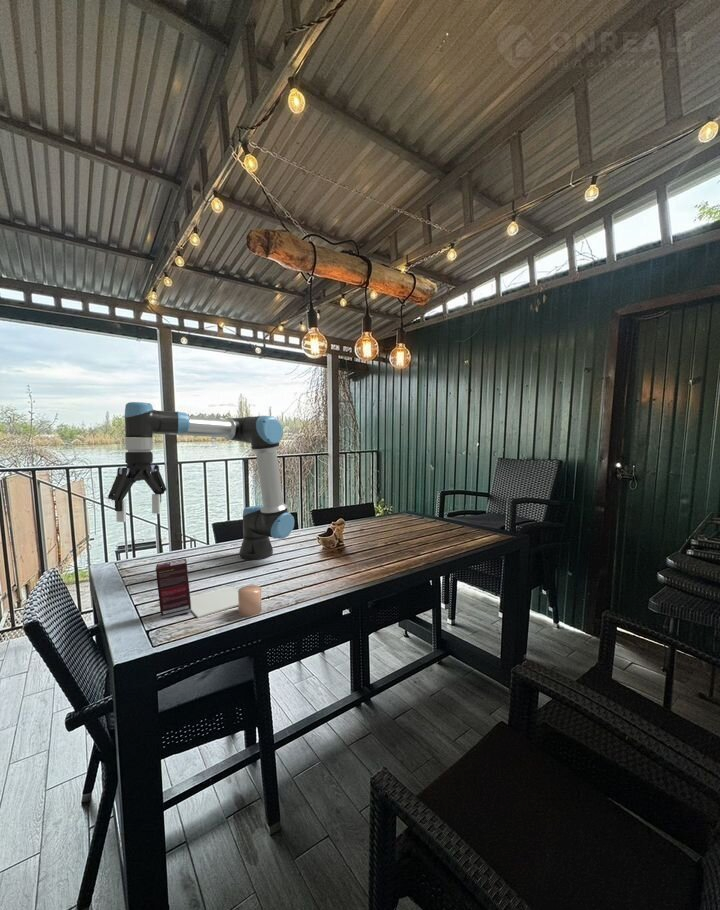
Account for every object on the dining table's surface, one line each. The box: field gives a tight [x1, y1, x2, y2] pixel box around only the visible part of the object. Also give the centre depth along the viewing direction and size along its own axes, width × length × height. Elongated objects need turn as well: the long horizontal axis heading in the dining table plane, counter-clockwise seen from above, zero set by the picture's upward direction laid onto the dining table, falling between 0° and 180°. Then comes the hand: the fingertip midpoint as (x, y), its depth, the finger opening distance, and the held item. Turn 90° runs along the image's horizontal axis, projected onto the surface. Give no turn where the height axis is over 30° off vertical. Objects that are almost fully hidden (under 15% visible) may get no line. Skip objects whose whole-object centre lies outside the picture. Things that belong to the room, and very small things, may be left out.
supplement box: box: [155, 558, 192, 619], centre depth 115 cm, size 9×5×16 cm, turn 116°
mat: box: [190, 585, 238, 619], centre depth 124 cm, size 17×16×1 cm
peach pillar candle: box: [237, 584, 262, 617], centre depth 117 cm, size 7×7×7 cm
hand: (139, 517), depth 118 cm, fingers open, 13 cm apart
